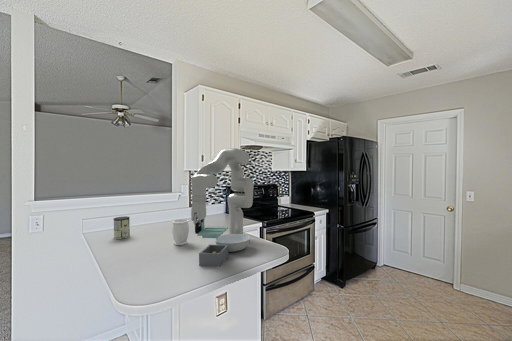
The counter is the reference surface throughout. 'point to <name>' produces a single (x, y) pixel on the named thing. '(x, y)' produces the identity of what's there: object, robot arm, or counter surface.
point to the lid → (211, 231)
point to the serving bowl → (233, 241)
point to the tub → (213, 255)
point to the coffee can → (121, 227)
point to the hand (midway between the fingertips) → (199, 232)
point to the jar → (180, 231)
